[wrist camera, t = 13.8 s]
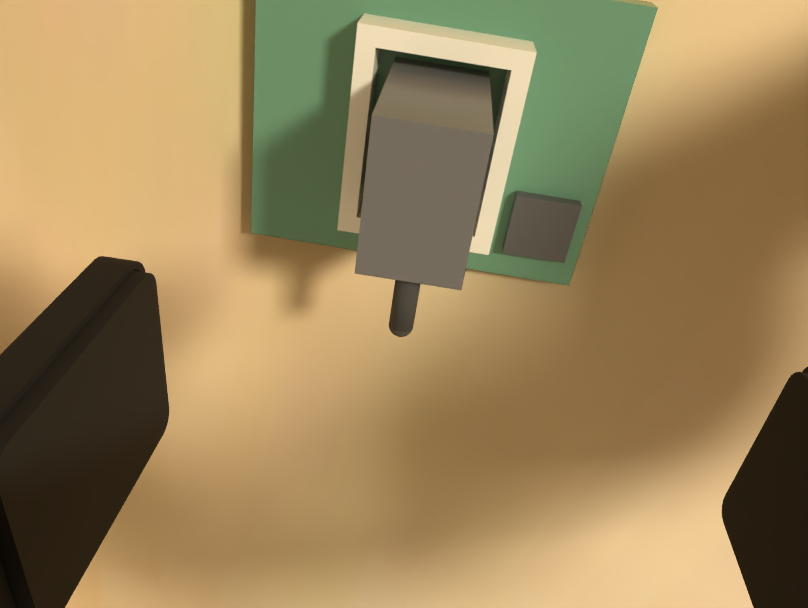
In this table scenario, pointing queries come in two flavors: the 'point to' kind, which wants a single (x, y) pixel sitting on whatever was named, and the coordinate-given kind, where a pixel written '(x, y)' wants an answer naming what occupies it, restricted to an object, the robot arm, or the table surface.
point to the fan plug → (424, 180)
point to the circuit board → (511, 109)
